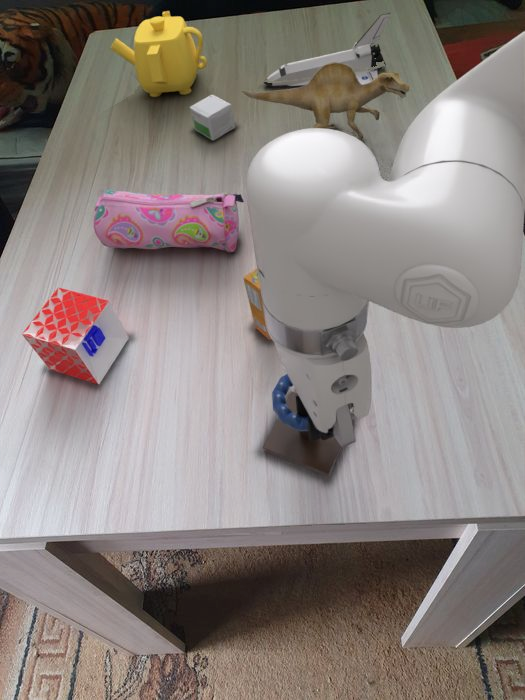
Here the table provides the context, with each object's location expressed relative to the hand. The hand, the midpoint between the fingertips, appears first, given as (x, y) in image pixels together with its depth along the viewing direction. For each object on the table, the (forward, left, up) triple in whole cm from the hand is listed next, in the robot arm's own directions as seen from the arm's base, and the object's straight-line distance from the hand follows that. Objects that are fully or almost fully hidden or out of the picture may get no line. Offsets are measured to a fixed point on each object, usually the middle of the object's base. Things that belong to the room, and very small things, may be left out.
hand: (318, 422), depth 53 cm
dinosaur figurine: (+22, -56, -8) cm, 61 cm away
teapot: (+61, -65, -8) cm, 90 cm away
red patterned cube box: (+34, -2, -8) cm, 35 cm away
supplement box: (+13, -15, -8) cm, 21 cm away
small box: (+43, -54, -8) cm, 69 cm away
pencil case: (+34, -25, -8) cm, 43 cm away
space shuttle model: (+30, -77, -8) cm, 83 cm away
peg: (+2, -2, -8) cm, 9 cm away
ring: (+2, -2, +1) cm, 3 cm away
